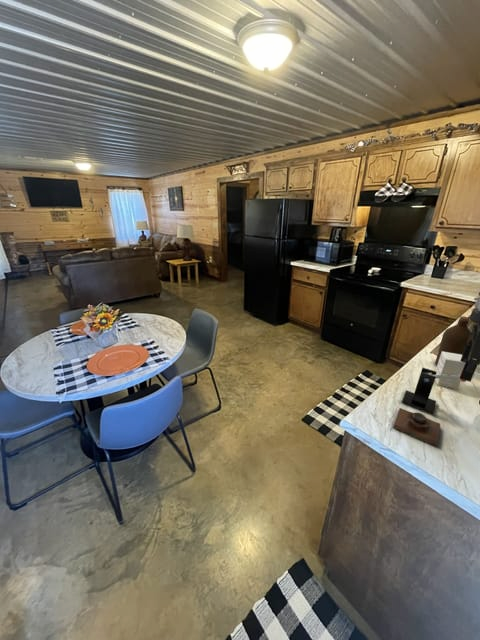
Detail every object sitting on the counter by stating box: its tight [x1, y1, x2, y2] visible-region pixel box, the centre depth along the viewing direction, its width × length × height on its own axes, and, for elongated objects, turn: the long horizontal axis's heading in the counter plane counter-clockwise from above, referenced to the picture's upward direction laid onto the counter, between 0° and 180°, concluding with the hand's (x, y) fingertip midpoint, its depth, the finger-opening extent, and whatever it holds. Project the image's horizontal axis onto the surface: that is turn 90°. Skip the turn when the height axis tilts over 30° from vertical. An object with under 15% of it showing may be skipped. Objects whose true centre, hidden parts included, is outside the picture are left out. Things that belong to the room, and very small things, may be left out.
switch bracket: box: [401, 367, 437, 416], centre depth 97 cm, size 10×8×14 cm
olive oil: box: [434, 315, 472, 367], centre depth 119 cm, size 11×11×25 cm
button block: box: [392, 407, 441, 447], centre depth 87 cm, size 12×10×4 cm
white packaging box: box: [434, 351, 465, 390], centre depth 109 cm, size 7×7×13 cm
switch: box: [423, 372, 467, 383], centre depth 92 cm, size 12×5×2 cm, turn 51°
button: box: [412, 412, 427, 424], centre depth 86 cm, size 4×4×2 cm
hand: (465, 370), depth 87 cm, fingers open, 13 cm apart
